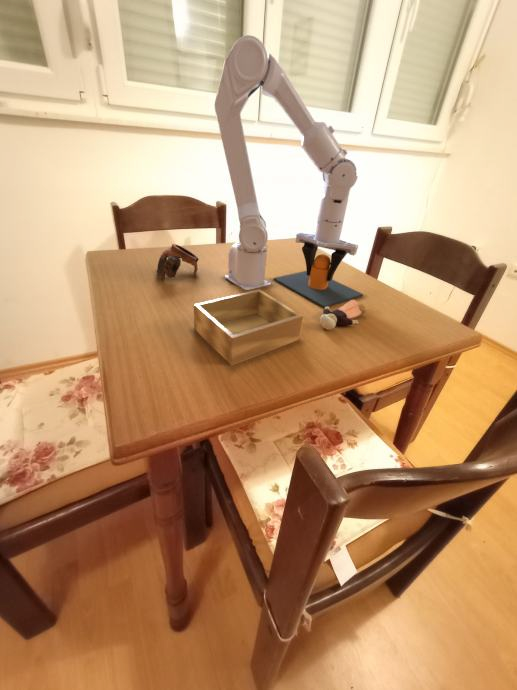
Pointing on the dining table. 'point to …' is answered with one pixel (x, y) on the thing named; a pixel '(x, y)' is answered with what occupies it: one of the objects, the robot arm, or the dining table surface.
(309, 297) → the mat
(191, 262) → the brown piece
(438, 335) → the dining table surface
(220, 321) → the wooden box
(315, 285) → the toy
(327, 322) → the grandmother figurine
